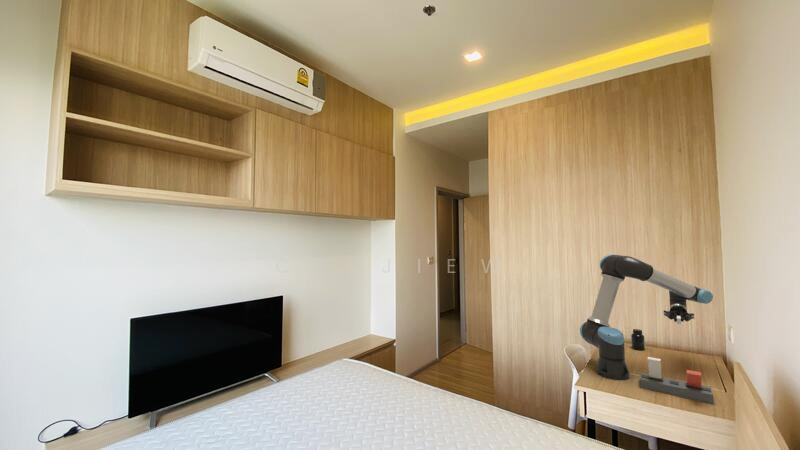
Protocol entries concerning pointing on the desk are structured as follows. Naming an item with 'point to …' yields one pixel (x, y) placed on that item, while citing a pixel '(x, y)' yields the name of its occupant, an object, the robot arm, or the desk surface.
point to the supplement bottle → (637, 340)
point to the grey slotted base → (676, 388)
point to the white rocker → (654, 367)
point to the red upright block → (694, 378)
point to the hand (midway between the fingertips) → (678, 321)
